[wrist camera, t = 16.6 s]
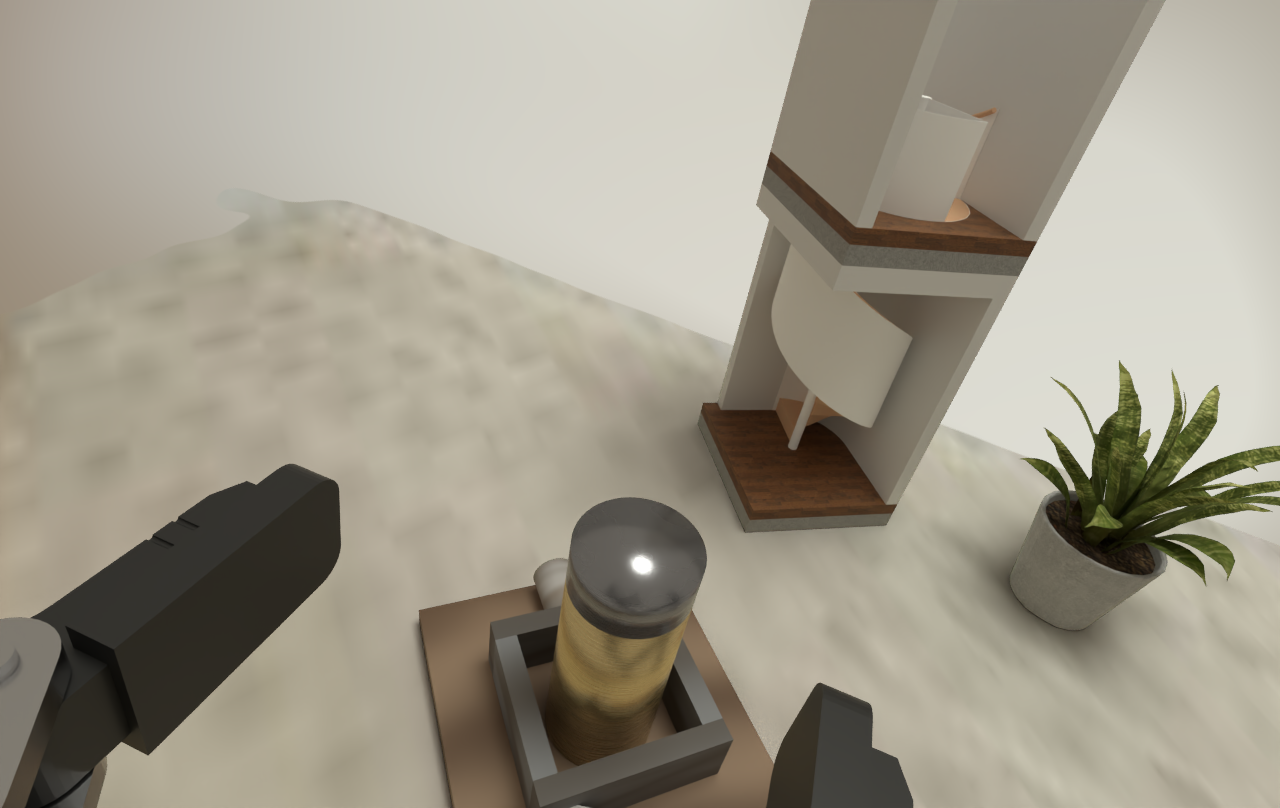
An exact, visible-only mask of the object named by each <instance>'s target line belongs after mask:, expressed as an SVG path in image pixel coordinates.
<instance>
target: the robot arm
mask: <svg viewBox="0 0 1280 808" xmlns="http://www.w3.org/2000/svg"><path fill="white" fill-rule="evenodd" d="M340 549H341V535H340V503H339V487H338V484H337V483H336V482H335V481H334V480H331V479H329V478H327V477H324V476H322V475H320V474H317V473H315V472H312V471H310V470H308V469H305V468H303V467H301V466H298V465H295V464H287V465H285V466H282V467H281V468H279V469H277V470H276V471H275V472H273V473H272V474H271V475H269V476H268V477H267V478H265V479H264V480H262V481H261V482H260V483H258V484H257V485H255V484H253V483H250V482H248V481H246V482H243V483H241V484H238V485H235V486H233V487H230V488H227V489H225V490H222V491H219V492H217V493H214V494H211V495H209V496H207V497H206V498H205V499H203V500H202V501H200V502H199V503H197V504H196V505H195V506H193V507H192V508H190V509H189V510H187V511H186V512H185V513H183V514H182V515H180V516H179V517H178V520H177V521H176V522H173V521H172V522H170V523H169V524H167V525H166V526H164V527H163V528H162V529H160V530H159V531H157V532H156V533H154V534H153V536H152V538H151V539H150V540H144V541H143V542H142V543H140V544H139V545H137V546H136V547H134V548H133V549H132V550H130V551H129V552H127V553H126V554H124V555H123V556H122V557H120V558H119V559H117V560H116V561H114V562H113V563H111V564H110V565H109V566H107V567H106V568H104V569H103V570H101V571H100V572H99V573H97V574H96V575H94V576H93V577H91V578H90V579H89V580H87V581H86V582H84V583H83V584H81V585H80V586H79V587H77V588H76V589H74V590H73V591H71V592H70V593H68V594H67V595H66V596H64V597H63V598H61V599H60V600H58V601H57V602H56V603H54V604H53V605H51V606H50V607H48V608H47V609H45V610H44V611H42V612H40V613H39V614H37V615H35V616H33V617H31V618H22V617H18V618H5V619H0V808H97V804H98V801H99V797H100V793H101V790H102V786H103V782H104V779H105V775H106V770H107V758H106V756H107V755H108V754H109V753H110V752H111V751H112V750H113V749H114V748H115V747H116V746H117V745H118V744H119V743H120V742H123V743H125V744H127V745H129V746H131V747H133V748H135V749H137V750H139V751H141V752H143V753H144V754H146V755H149V754H150V753H151V752H152V751H153V750H154V749H155V748H156V747H158V746H159V745H160V744H161V743H162V742H163V741H164V740H165V739H166V738H167V737H168V736H169V735H170V734H171V733H172V732H173V731H174V730H175V729H176V728H177V727H178V726H179V725H180V724H181V723H182V722H183V721H184V720H185V719H186V718H187V717H188V716H189V715H190V714H191V713H192V712H193V711H194V710H195V709H196V708H197V707H198V706H199V705H200V704H201V703H202V702H203V701H204V700H205V699H206V698H207V697H208V696H209V695H210V694H211V693H212V692H213V691H214V690H215V689H216V688H217V687H218V686H219V685H220V684H221V683H222V682H223V681H224V680H225V679H226V678H227V677H228V676H229V675H230V674H231V673H232V672H233V671H234V670H235V669H236V668H237V667H238V666H239V665H240V664H241V663H242V662H243V661H244V660H245V659H246V658H247V657H248V656H249V655H250V654H251V653H252V652H253V651H254V650H255V649H256V648H258V647H259V646H260V645H261V644H262V643H263V642H264V641H265V640H266V639H267V638H268V637H269V636H270V635H271V634H272V633H273V632H274V631H275V630H276V629H277V628H278V627H279V626H280V625H281V624H282V623H283V622H284V621H285V620H286V619H287V618H288V617H289V616H290V615H291V614H292V613H293V612H294V611H295V610H296V609H297V608H298V607H299V606H300V605H301V604H302V603H303V602H304V601H305V600H306V599H307V598H308V597H309V596H310V595H311V594H312V593H313V592H314V591H315V590H316V589H317V588H318V587H319V586H320V585H321V584H322V583H323V582H324V581H325V580H326V578H327V577H328V576H329V574H330V573H331V571H332V570H333V568H334V566H335V564H336V562H337V559H338V557H339V553H340ZM872 723H873V713H872V708H871V705H870V704H869V703H867V702H865V701H863V700H860V699H858V698H856V697H853V696H851V695H848V694H846V693H844V692H841V691H839V690H837V689H834V688H832V687H829V686H827V685H825V684H822V683H818V684H817V685H816V686H815V687H814V689H813V690H812V692H811V694H810V695H809V697H808V699H807V700H806V702H805V704H804V705H803V707H802V709H801V710H800V712H799V714H798V715H797V717H796V719H795V720H794V722H793V724H792V726H791V727H790V729H789V731H788V732H787V734H786V736H785V737H784V739H783V741H782V743H781V746H780V748H779V751H778V754H777V757H776V760H775V763H774V767H773V771H772V775H771V781H770V786H769V793H768V799H767V805H766V808H913V799H912V796H911V794H910V791H909V788H908V786H907V783H906V780H905V778H904V775H903V772H902V770H901V767H900V764H899V761H898V759H897V758H896V757H893V756H891V755H889V754H886V753H884V752H882V751H879V750H877V749H875V748H872Z"/></svg>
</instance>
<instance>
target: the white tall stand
mask: <svg viewBox="0 0 1280 808" xmlns="http://www.w3.org/2000/svg"><path fill="white" fill-rule="evenodd" d="M1164 2H1165V0H811V2H810V6H809V10H808V13H807V17H806V21H805V25H804V28H803V32H802V36H801V39H800V43H799V47H798V51H797V54H796V58H795V62H794V66H793V69H792V73H791V77H790V81H789V85H788V88H787V92H786V96H785V99H784V103H783V107H782V111H781V114H780V118H779V122H778V125H777V129H776V133H775V137H774V140H773V144H772V148H771V152H770V155H769V159H768V163H767V167H766V170H765V174H764V178H763V182H762V185H761V189H760V193H759V197H758V200H757V204H756V205H757V206H758V207H759V208H760V210H761V211H762V212H763V213H764V214H765V215H766V216H767V217H768V218H769V222H768V226H767V230H766V233H765V237H764V240H763V244H762V247H761V251H760V254H759V258H758V261H757V265H756V269H755V272H754V276H753V279H752V283H751V286H750V290H749V293H748V297H747V300H746V304H745V308H744V311H743V315H742V318H741V322H740V325H739V329H738V332H737V336H736V340H735V343H734V346H733V350H732V353H731V357H730V361H729V364H728V368H727V371H726V375H725V378H724V382H723V385H722V389H721V392H720V396H719V400H718V403H703V406H702V410H701V414H700V417H699V421H698V425H699V428H700V430H701V432H702V434H703V437H704V439H705V441H706V444H707V446H708V448H709V451H710V453H711V455H712V457H713V460H714V462H715V464H716V467H717V469H718V471H719V473H720V476H721V478H722V480H723V483H724V485H725V487H726V490H727V492H728V494H729V496H730V499H731V501H732V503H733V506H734V508H735V510H736V512H737V515H738V517H739V519H740V522H741V524H742V526H743V528H744V531H745V532H764V531H783V530H803V529H822V528H841V527H860V526H880V525H887V523H888V521H889V519H890V517H891V515H892V513H893V511H894V510H895V508H896V506H897V504H898V502H899V500H900V498H901V496H902V494H903V493H904V491H905V489H906V487H907V485H908V483H909V481H910V479H911V478H912V476H913V474H914V472H915V470H916V468H917V466H918V464H919V463H920V461H921V459H922V457H923V455H924V453H925V451H926V449H927V448H928V446H929V444H930V442H931V440H932V438H933V436H934V434H935V432H936V431H937V429H938V427H939V425H940V423H941V421H942V419H943V417H944V416H945V414H946V412H947V409H948V408H949V406H950V404H951V402H952V401H953V399H954V397H955V395H956V393H957V391H958V389H959V387H960V385H961V384H962V382H963V380H964V378H965V376H966V374H967V372H968V370H969V369H970V367H971V365H972V363H973V361H974V359H975V357H976V355H977V354H978V352H979V350H980V348H981V346H982V344H983V342H984V340H985V339H986V337H987V335H988V333H989V331H990V329H991V327H992V325H993V323H994V322H995V320H996V318H997V316H998V314H999V312H1000V310H1001V308H1002V307H1003V305H1004V303H1005V301H1006V299H1007V297H1008V295H1009V293H1010V292H1011V290H1012V288H1013V285H1014V284H1015V282H1016V280H1017V278H1018V277H1019V275H1020V273H1021V271H1022V269H1023V267H1024V265H1025V263H1026V261H1027V260H1028V257H1029V256H1030V254H1031V252H1032V250H1033V248H1034V246H1035V245H1036V243H1037V241H1038V239H1039V237H1040V235H1041V233H1042V231H1043V229H1044V228H1045V226H1046V224H1047V222H1048V220H1049V218H1050V216H1051V214H1052V212H1053V211H1054V209H1055V207H1056V205H1057V203H1058V201H1059V199H1060V197H1061V196H1062V194H1063V192H1064V190H1065V188H1066V186H1067V184H1068V182H1069V181H1070V179H1071V177H1072V175H1073V173H1074V171H1075V169H1076V167H1077V166H1078V164H1079V162H1080V160H1081V158H1082V156H1083V154H1084V152H1085V151H1086V148H1087V147H1088V145H1089V143H1090V141H1091V139H1092V137H1093V136H1094V134H1095V131H1096V130H1097V128H1098V126H1099V124H1100V122H1101V121H1102V118H1103V117H1104V115H1105V113H1106V111H1107V109H1108V107H1109V105H1110V104H1111V102H1112V100H1113V98H1114V96H1115V94H1116V92H1117V90H1118V88H1119V87H1120V85H1121V83H1122V81H1123V79H1124V77H1125V75H1126V74H1127V72H1128V70H1129V68H1130V66H1131V64H1132V62H1133V60H1134V59H1135V57H1136V55H1137V53H1138V51H1139V49H1140V47H1141V45H1142V44H1143V42H1144V40H1145V38H1146V36H1147V34H1148V32H1149V30H1150V28H1151V27H1152V25H1153V23H1154V21H1155V19H1156V17H1157V15H1158V13H1159V11H1160V10H1161V8H1162V6H1163V4H1164Z"/></svg>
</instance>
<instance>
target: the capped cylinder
mask: <svg viewBox="0 0 1280 808" xmlns="http://www.w3.org/2000/svg"><path fill="white" fill-rule="evenodd" d="M706 562H707V555H706V549H705V545H704V542H703V540H702V538H701V536H700V534H699V532H698V531H697V530H696V528H695V527H694V526H693V525H692V523H691V522H690V521H689V520H688V519H686V518H685V517H684V516H683V515H682V514H680V513H679V512H677V511H676V510H674V509H672V508H670V507H668V506H666V505H664V504H662V503H659V502H656V501H652V500H648V499H642V498H618V499H612V500H608V501H605V502H603V503H600V504H598V505H596V506H594V507H592V508H591V509H590V510H588V511H587V512H586V513H585V514H584V515H583V516H582V517H581V518H580V519H579V521H578V522H577V524H576V526H575V528H574V531H573V534H572V539H571V546H570V552H569V559H568V566H567V572H566V579H565V585H564V592H563V599H562V605H561V612H560V618H559V625H558V632H557V638H556V645H555V652H554V658H553V665H552V671H551V678H550V685H549V691H548V698H547V704H546V711H545V722H546V728H547V732H548V735H549V737H550V740H551V742H552V743H553V745H554V747H555V748H556V749H557V750H558V752H559V753H560V754H561V755H562V756H563V757H564V758H566V759H567V760H568V761H570V762H571V763H573V764H575V765H577V766H580V765H583V764H586V763H589V762H592V761H595V760H598V759H601V758H604V757H607V756H610V755H613V754H616V753H619V752H622V751H625V750H628V749H631V748H634V747H637V746H640V745H643V744H645V743H646V741H647V739H648V736H649V733H650V730H651V728H652V725H653V722H654V719H655V716H656V713H657V710H658V707H659V704H660V701H661V698H662V695H663V692H664V689H665V686H666V683H667V681H668V678H669V675H670V672H671V669H672V666H673V663H674V660H675V657H676V654H677V651H678V648H679V645H680V642H681V639H682V637H683V634H684V631H685V628H686V625H687V622H688V619H689V616H690V613H691V610H692V607H693V604H694V601H695V598H696V595H697V592H698V590H699V587H700V584H701V581H702V578H703V575H704V572H705V568H706Z"/></svg>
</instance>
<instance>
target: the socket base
mask: <svg viewBox="0 0 1280 808" xmlns="http://www.w3.org/2000/svg"><path fill="white" fill-rule="evenodd" d="M567 566H568V560H567V559H563V558H558V559H553V560H550V561H547V562H545V563H544V564H542V565H541V566H540V567H539V568H538V569H537V570H536V571H535V573H534V582H535V585H533V586H529V587H524V588H520V589H515V590H510V591H506V592H501V593H496V594H492V595H487V596H483V597H478V598H473V599H469V600H464V601H460V602H455V603H450V604H446V605H441V606H436V607H432V608H427V609H423V610H419V621H420V627H421V633H422V639H423V644H424V650H425V655H426V661H427V667H428V672H429V678H430V683H431V689H432V695H433V700H434V706H435V711H436V717H437V722H438V728H439V734H440V739H441V745H442V750H443V756H444V762H445V767H446V773H447V778H448V784H449V790H450V795H451V801H452V806H453V808H766V805H767V799H768V793H769V786H770V781H771V775H772V771H773V767H774V764H773V762H772V760H771V758H770V756H769V754H768V753H767V751H766V749H765V747H764V745H763V743H762V741H761V739H760V738H759V736H758V734H757V732H756V730H755V728H754V726H753V724H752V722H751V721H750V719H749V717H748V715H747V713H746V711H745V709H744V707H743V706H742V704H741V702H740V700H739V698H738V696H737V694H736V692H735V690H734V689H733V687H732V685H731V683H730V681H729V679H728V677H727V675H726V674H725V672H724V670H723V668H722V666H721V664H720V662H719V660H718V658H717V657H716V655H715V653H714V651H713V649H712V647H711V645H710V643H709V642H708V640H707V638H706V636H705V634H704V632H703V630H702V628H701V627H700V625H699V623H698V621H697V619H696V617H695V615H694V613H693V611H692V610H691V613H690V616H689V619H688V622H687V625H686V628H685V631H684V634H683V637H682V639H681V642H680V645H679V648H678V651H677V654H676V657H675V660H674V663H673V666H672V669H671V672H670V675H669V678H668V681H667V683H666V686H665V689H664V692H663V695H662V698H661V701H660V704H659V707H658V710H657V713H656V716H655V719H654V722H653V725H652V728H651V730H650V733H649V736H648V739H647V741H646V743H645V744H643V745H640V746H637V747H634V748H631V749H628V750H625V751H622V752H619V753H616V754H613V755H610V756H607V757H604V758H601V759H598V760H595V761H592V762H589V763H586V764H583V765H580V766H577V765H575V764H573V763H571V762H570V761H568V760H567V759H566V758H564V757H563V756H562V755H561V754H560V753H559V752H558V750H557V749H556V748H555V747H554V745H553V743H552V742H551V740H550V737H549V735H548V732H547V728H546V722H545V711H546V704H547V698H548V691H549V685H550V678H551V671H552V665H553V658H554V652H555V645H556V638H557V632H558V625H559V618H560V612H561V605H562V599H563V592H564V585H565V579H566V572H567Z"/></svg>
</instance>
